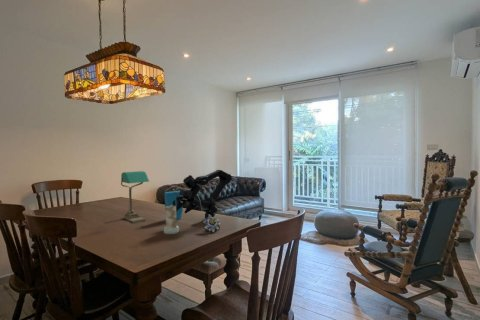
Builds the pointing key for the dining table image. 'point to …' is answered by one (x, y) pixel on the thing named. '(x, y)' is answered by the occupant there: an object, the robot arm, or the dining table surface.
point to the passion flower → (211, 223)
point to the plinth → (171, 230)
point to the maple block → (171, 217)
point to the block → (169, 202)
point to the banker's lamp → (130, 178)
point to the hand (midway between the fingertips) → (180, 212)
